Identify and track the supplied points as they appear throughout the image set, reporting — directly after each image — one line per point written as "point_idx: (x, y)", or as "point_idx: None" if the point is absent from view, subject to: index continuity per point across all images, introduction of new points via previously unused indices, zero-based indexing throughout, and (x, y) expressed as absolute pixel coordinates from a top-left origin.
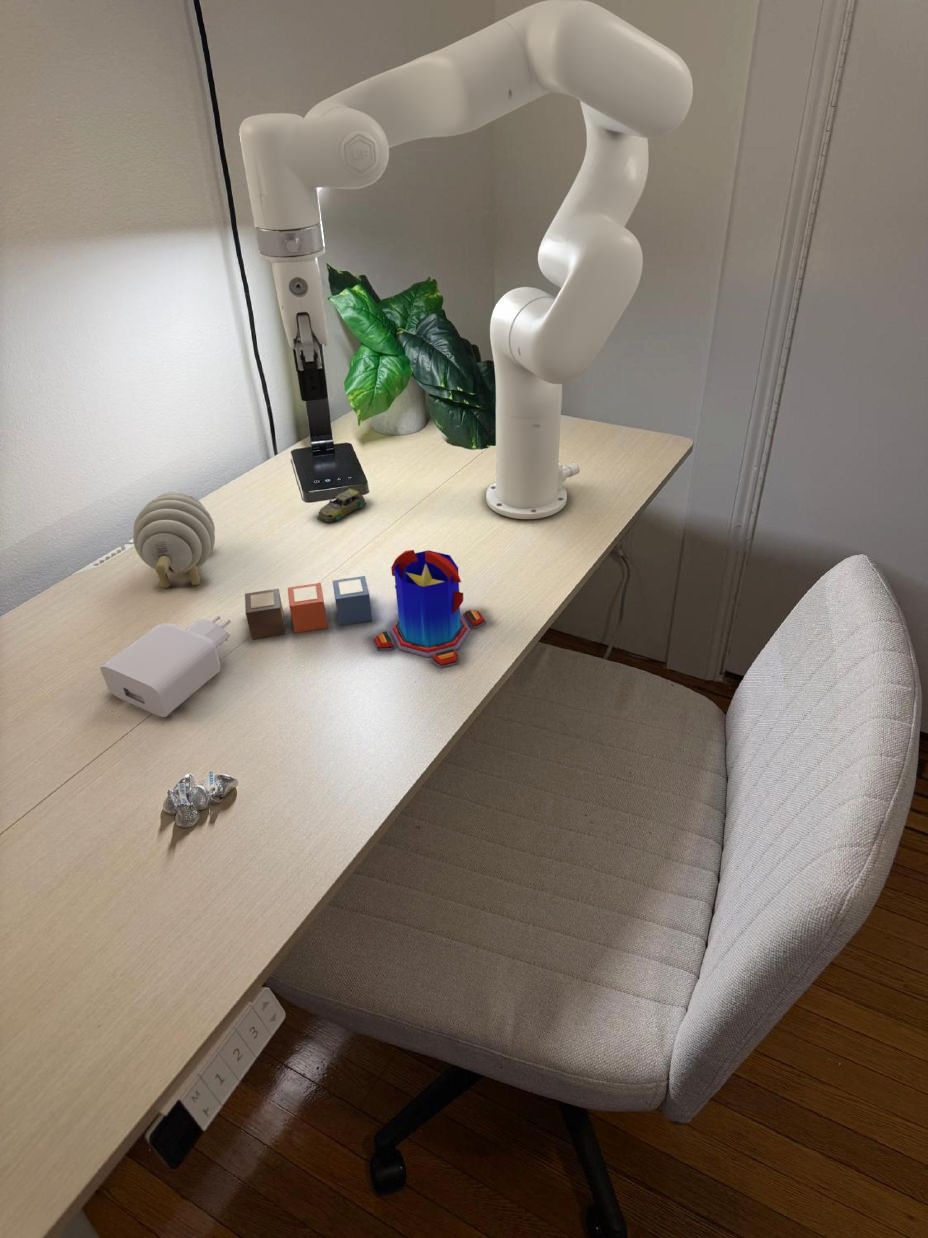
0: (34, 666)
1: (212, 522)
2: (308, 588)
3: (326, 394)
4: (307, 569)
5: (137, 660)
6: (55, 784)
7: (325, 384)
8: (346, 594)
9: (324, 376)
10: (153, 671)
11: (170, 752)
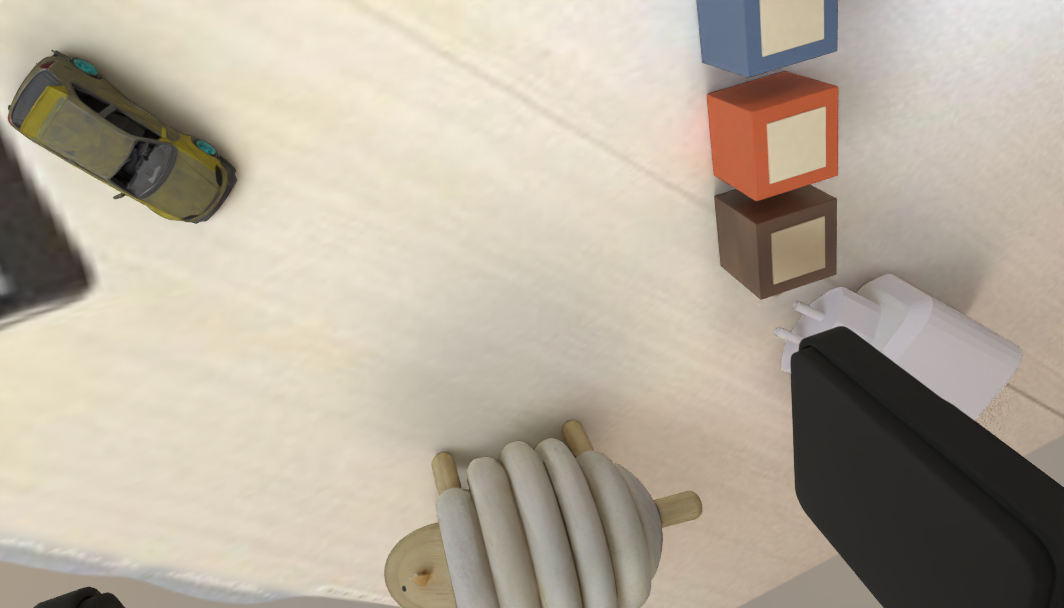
0: (781, 559)
1: (495, 486)
2: (776, 142)
3: (861, 341)
4: (516, 183)
5: None
6: (1033, 411)
7: (928, 394)
8: (824, 20)
9: (1001, 450)
10: (984, 379)
11: (1036, 285)
